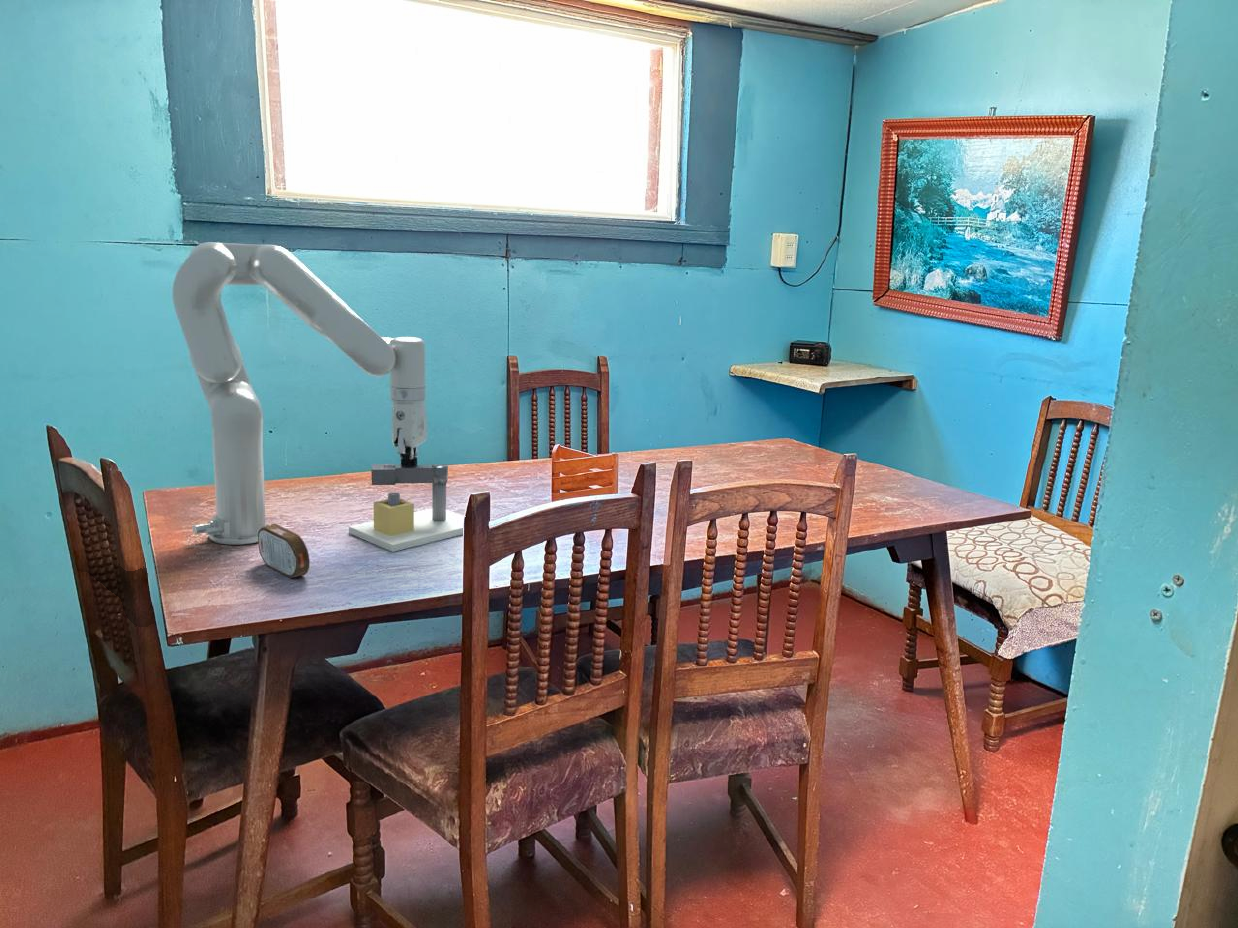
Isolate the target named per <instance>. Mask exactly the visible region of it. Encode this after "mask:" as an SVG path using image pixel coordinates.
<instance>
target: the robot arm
mask: <svg viewBox="0 0 1238 928" xmlns="http://www.w3.org/2000/svg"><path fill="white" fill-rule="evenodd" d="M231 285H232V286H233V285H234V286H264V287H265V288H266V289H267V290H268V291H269V292H270V293H272V295H273V296H275V297H276V298H277V299H278V300H279V301H281V303H283V304H284V305H285V306H286V307H287V308H288V309H290V311H292V312H293V313H294V314H295V315H296V316H297V317H299V319H301V320H302V321H303V322H304V323H305V324H306V325H308V326H309V327H310V328H311V329H312V330H314V331H315V332H317V333H319V335H322V336H323V337H324V338H326V339H327V340H329V341H330V342H331V343H332V344H333V345H334V346H336V347H337V348H338V349H340V351H342V353H344V354H345V355H346V356H347V357H349V358H350V359H351V361H353V363H354V364H355V365H356V366H357V367H358V368H359V369H361V370H362V371H364V372H365V373H366V374H367V375H370V376H373V377H383V376H386V375H388V374H389V378H390V379H389V384H390V385H389V388H390V402H391V403H392V414H391V415H392V417H391V419H392V420H391V440H392V445H393V446H394V447H395V448H397V454H399V457H400V465H418V452H419V445H422V444H423V443H425V442H426V441H427V439H428V424H427V422H428V421H427V410H426V408H427V407H426V397H427V395H426V345H425V341H424V340H423V339H421V338H420V337H415V336H399V337H394V338H393V337H385V336H384V337H383V336H381V335H380V334H378V333H377V332H376V331H375V330H374V329H373V328H372V327H371V326H370V325H368V324H367V323H366V322H365V320H363V319H362V318H361V317H360V316H359V315H357V313H356V312H355V311H353V310H352V308H350V307H349V306H348V305H347V303H345V301H344V300H342V298H340V297H339V296H338V295H337V294H336V293H335V292H334V291H333V290H332V289H331V288H329V287H328V286H327V285H326V284H325V283H324V282H323V281H322V280H321V279H319V277H317V276H316V275H315V274H314V273H313V272H312V271H311V270H310V269H309V268H308V267H306V265H305V264H304V263H302V262H301V261H300V259H298V258H297V257H296V256H295V255H293V254H292V253H291V252H290V251H289V250H288V249H286V248H284V247H282V246H279V245H277V244H267V243H266V244H257V243H256V244H250V243H249V244H248V243H235V242H234V243H231V242H214V241H213V242H212V241H207V242H203V243H198V245H196V246H195V247H194V248H193V249H191V252H190V253H189V255H188V257H187V258H186V259H185V260H184V261H183V263H182V264H181V265H180V267H179V268H178V270H177V272H176V275H175V277H174V281H173V285H172V302H173V308H174V310H175V313H176V316H177V320H178V322H179V325H180V328H181V331H182V334H183V337H184V339H185V342H186V345H187V348H188V351H189V358H190V361H191V364H192V366H193V369H194V371H195V373H196V376H197V379H198V382H199V384H200V388H201V390H202V392H203V394H204V397H205V399H206V402H207V405H208V408H209V412H210V418H211V433H212V434H211V435H212V439H211V440H212V459H213V461H212V462H213V464H212V465H213V473H214V474H213V475H214V476H213V477H214V494H215V496H214V497H215V498H214V499H215V515H212V516H211V520H208V522H207V523H199V524H194V525H192V531H193V534H194V535H199V534H205V535H206V536H208V537H209V539H210V540H211V541H213V542H214V543H217V544H222V545H230V546H231V545H232V546H233V545H239V546H240V545H249V544H256V543H258V532H259V530H260V529H261V528H263V527H266V526H269V525H270V524H268V523H267V521H266V520H267V519H266V500H265V499H266V498H265V497H266V496H265V495H266V494H265V473H264V472H265V471H264V470H265V469H264V449H263V447H264V446H263V432H264V431H263V427H264V416H263V408H262V407H263V406H262V404H261V401H260V399H259V398H258V396H257V394H256V392H255V391H254V388H253V385H252V383H251V380H250V377H249V375H248V372H247V369H246V367H245V364H244V360H243V355H242V352H241V349H240V347H239V345H238V343H236V340H235V338H234V336H233V333H232V330H231V328H230V325H229V323H228V320H227V317H226V313H225V310H224V307H223V303H222V292H223V289H224V288H225V286H231Z"/></svg>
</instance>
